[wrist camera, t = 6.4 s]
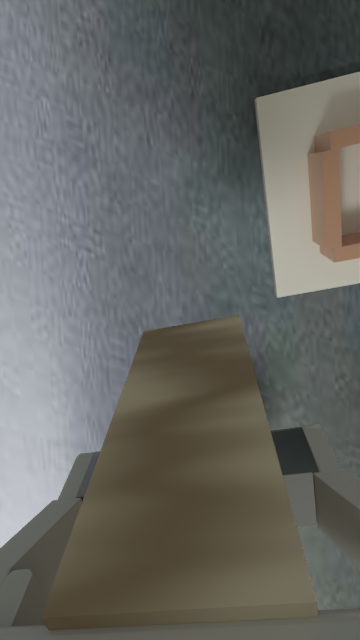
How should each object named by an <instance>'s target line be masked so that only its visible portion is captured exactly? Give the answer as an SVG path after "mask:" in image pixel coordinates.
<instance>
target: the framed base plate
mask: <svg viewBox="0 0 360 640" xmlns="http://www.w3.org/2000/svg"><path fill="white" fill-rule="evenodd" d="M254 104H255V113H256V123H257V132H258V141H259V150H260V159H261V169H262V178H263V187H264V196H265V206H266V215H267V224H268V233H269V242H270V252H271V261H272V270H273V279H274V288H275V295H276V297H277V298H279V297H284V296H290V295H295V294H301V293H307V292H312V291H318V290H323V289H329V288H335V287H340V286H346V285H351V284H357V283H360V72H356V73H352V74H348V75H344V76H340V77H336V78H332V79H328V80H325V81H321V82H317V83H313V84H309V85H305V86H301V87H297V88H293V89H289V90H285V91H281V92H277V93H273V94H270V95H266V96H262V97H258V98H256V99H255V100H254Z"/></svg>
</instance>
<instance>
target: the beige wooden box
mask: <svg viewBox="0 0 360 640" xmlns="http://www.w3.org/2000/svg"><path fill="white" fill-rule="evenodd" d="M305 617H318V608H317V600H316V597H315V593H314V589H313V586H312V582H311V578H310V575H309V571H308V567H307V563H306V560H305V556H304V552H303V549H302V545H301V541H300V538H299V534H298V530H297V527H296V523H295V519H294V516H293V512H292V508H291V505H290V501H289V497H288V494H287V490H286V486H285V483H284V479H283V475H282V471H281V468H280V464H279V460H278V457H277V453H276V449H275V446H274V442H273V438H272V435H271V431H270V427H269V424H268V420H267V416H266V413H265V409H264V405H263V402H262V398H261V394H260V390H259V387H258V383H257V379H256V376H255V372H254V368H253V365H252V361H251V357H250V354H249V350H248V346H247V343H246V339H245V335H244V332H243V328H242V324H241V321H240V317H239V315H237V316H231V317H225V318H219V319H213V320H208V321H202V322H196V323H190V324H184V325H178V326H172V327H167V328H161V329H155V330H149V331H144V332H143V335H142V338H141V341H140V343H139V346H138V349H137V352H136V354H135V357H134V360H133V363H132V366H131V368H130V371H129V374H128V377H127V379H126V382H125V385H124V388H123V391H122V393H121V396H120V399H119V402H118V404H117V407H116V410H115V413H114V416H113V418H112V421H111V424H110V427H109V429H108V432H107V435H106V438H105V441H104V443H103V446H102V449H101V452H100V454H99V457H98V460H97V463H96V466H95V468H94V471H93V474H92V477H91V479H90V482H89V485H88V488H87V491H86V493H85V496H84V499H83V502H82V504H81V507H80V510H79V513H78V516H77V518H76V521H75V524H74V527H73V529H72V532H71V535H70V538H69V541H68V543H67V546H66V549H65V552H64V554H63V557H62V560H61V563H60V566H59V568H58V571H57V574H56V577H55V579H54V582H53V585H52V588H51V591H50V593H49V596H48V599H47V602H46V604H45V607H44V610H43V613H42V616H41V619H42V621H43V622H44V624H45V625H46V627H47V629H48V630H68V629H87V628H107V627H127V626H147V625H166V624H186V623H206V622H226V621H246V620H265V619H285V618H305Z"/></svg>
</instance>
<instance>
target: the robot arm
mask: <svg viewBox="0 0 360 640" xmlns="http://www.w3.org/2000/svg"><path fill="white" fill-rule="evenodd" d="M271 435H272V438H273V442H274V446H275V449H276V453H277V457H278V460H279V464H280V468H281V471H282V475H283V479H284V483H285V486H286V490H287V494H288V497H289V501H290V505H291V508H292V512H293V516H294V519H295V523H296V526H313V525H318V528H319V529H320V530H321V531H322V532H323V533H324V534H325V535H326V536H327V537H328V538H329V539H330V540H331V541H332V542H333V543H334V545H335V546H336V547H337V548H338V549H339V550H340V551H341V552H342V553H343V554H344V555H345V556H346V557H347V558H348V559H349V560H350V561H351V562H352V564H353V565H354V566H355V567H356V568H357V569H358V570H359V571H360V477H359V476H357V475H356V474H354V473H353V472H351V471H350V470H342V468H341V466H340V464H339V462H338V460H337V457H336V455H335V453H334V451H333V449H332V447H331V445H330V443H329V441H328V439H327V437H326V435H325V433H324V431H323V428H322V426H320V425H319V424H316V425H309V426H302V427H296V428H289V429H281V430H273V431H271ZM100 452H101V451H99V452H92V453H81V454H80V455H79V456H77V458H76V460H75V462H74V464H73V467H72V469H71V471H70V473H69V476H68V478H67V480H66V482H65V485H64V487H63V489H62V492H61V494H60V496H59V498H58V500H54V501H52V502H51V503H50V504H49V505H48V506H46V507H45V508H44V509H43V510H42V511H41V512H40V513H39V514H38V515H37V516H35V517H34V518H33V519H32V520H31V521H30V522H29V523H28V524H27V525H26V526H24V527H23V528H22V529H21V530H20V531H19V532H18V533H17V534H16V535H15V536H13V537H12V538H11V539H10V540H9V541H8V542H7V543H6V544H5V545H4V546H2V547H1V548H0V640H360V608H353V609H334V610H318V617H305V618H285V619H265V620H246V621H226V622H206V623H186V624H166V625H147V626H127V627H107V628H87V629H68V630H48V629H47V627H46V625H45V624H44V622H43V621H42V619H41V616H42V613H43V610H44V607H45V604H46V602H47V599H48V596H49V593H50V591H51V588H52V585H53V582H54V579H55V577H56V574H57V571H58V568H59V566H60V563H61V560H62V557H63V554H64V552H65V549H66V546H67V543H68V541H69V538H70V535H71V532H72V529H73V527H74V524H75V521H76V518H77V516H78V513H79V510H80V507H81V504H82V502H83V499H84V496H85V493H86V491H87V488H88V485H89V482H90V479H91V477H92V474H93V471H94V468H95V466H96V463H97V460H98V457H99V454H100Z"/></svg>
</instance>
